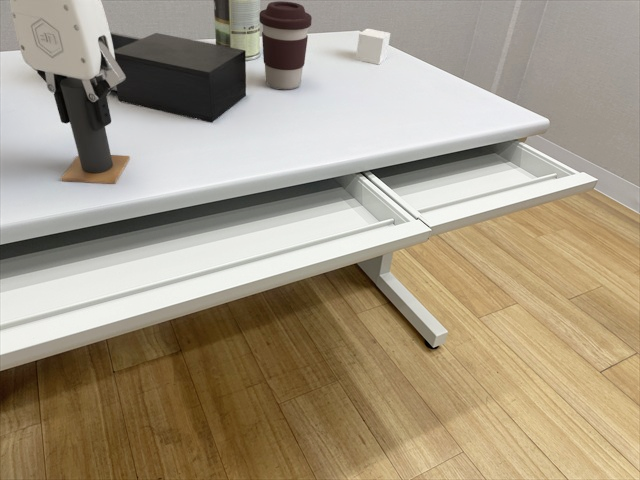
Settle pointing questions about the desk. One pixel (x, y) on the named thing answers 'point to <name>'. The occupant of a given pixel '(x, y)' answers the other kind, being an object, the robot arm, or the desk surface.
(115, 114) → the desk surface
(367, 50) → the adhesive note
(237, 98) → the cabinet
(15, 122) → the desk surface
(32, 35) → the robot arm
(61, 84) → the canister
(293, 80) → the coffee cup
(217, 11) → the coffee can
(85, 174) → the pad
